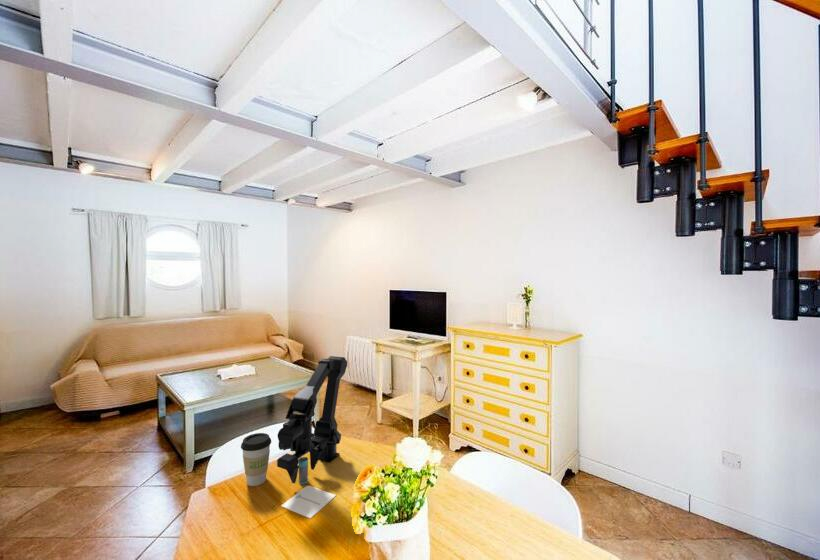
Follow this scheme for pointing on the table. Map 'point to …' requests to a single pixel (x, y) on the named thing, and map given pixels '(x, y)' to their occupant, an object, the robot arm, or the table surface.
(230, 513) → the table surface
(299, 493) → the paper
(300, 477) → the marker
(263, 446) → the coffee cup
